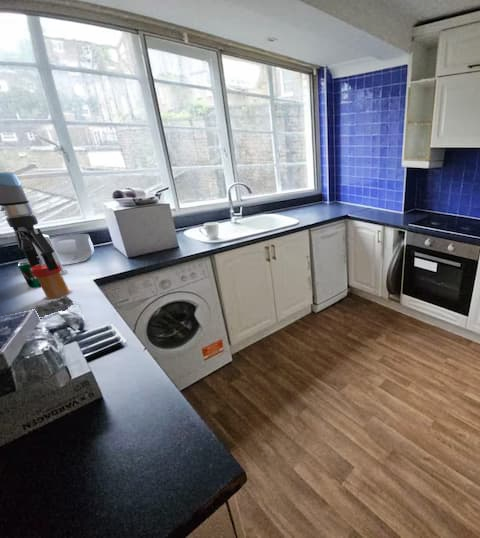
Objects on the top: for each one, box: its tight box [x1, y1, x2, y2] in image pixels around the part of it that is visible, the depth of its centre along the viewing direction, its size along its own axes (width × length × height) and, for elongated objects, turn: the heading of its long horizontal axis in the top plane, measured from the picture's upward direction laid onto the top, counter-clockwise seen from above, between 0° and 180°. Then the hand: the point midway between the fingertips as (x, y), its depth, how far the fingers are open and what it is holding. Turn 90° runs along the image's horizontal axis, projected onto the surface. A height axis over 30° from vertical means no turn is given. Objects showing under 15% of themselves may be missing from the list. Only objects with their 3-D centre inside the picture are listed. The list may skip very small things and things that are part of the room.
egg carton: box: [30, 295, 74, 317], centre depth 110 cm, size 11×8×4 cm
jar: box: [37, 272, 71, 300], centre depth 121 cm, size 7×7×12 cm
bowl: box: [50, 233, 95, 266], centre depth 162 cm, size 20×19×12 cm
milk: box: [31, 233, 66, 276], centre depth 141 cm, size 6×6×22 cm
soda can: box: [17, 259, 41, 289], centre depth 130 cm, size 5×5×12 cm
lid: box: [30, 262, 61, 277], centre depth 119 cm, size 8×8×3 cm
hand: (44, 267), depth 119 cm, fingers open, 13 cm apart
